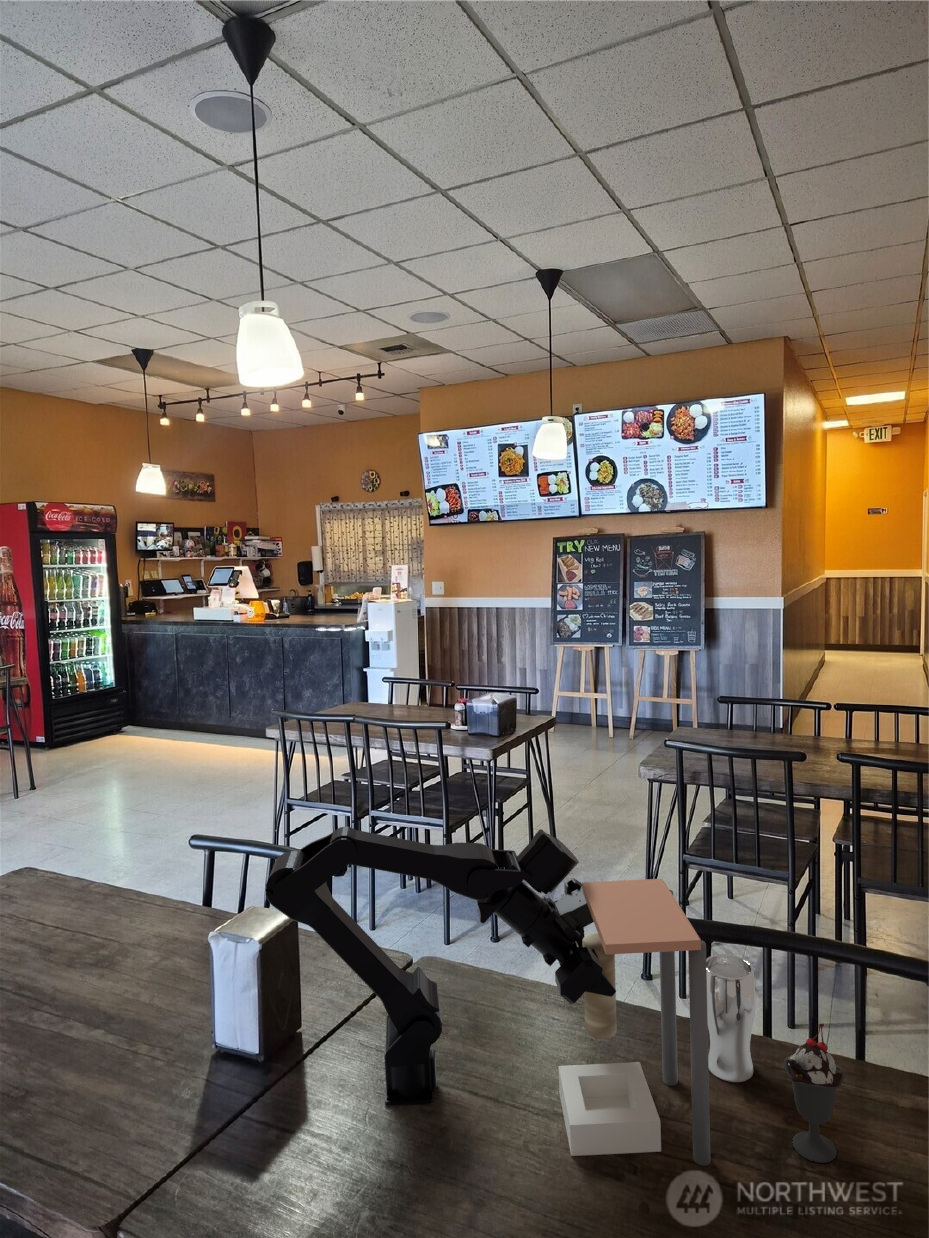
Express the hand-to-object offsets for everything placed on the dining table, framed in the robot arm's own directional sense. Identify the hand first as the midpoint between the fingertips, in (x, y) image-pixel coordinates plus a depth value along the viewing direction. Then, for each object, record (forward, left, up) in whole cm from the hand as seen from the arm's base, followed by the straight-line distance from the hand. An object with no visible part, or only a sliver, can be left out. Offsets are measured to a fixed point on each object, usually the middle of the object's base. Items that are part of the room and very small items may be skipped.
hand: (609, 984), depth 110 cm
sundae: (+21, -16, -13) cm, 30 cm away
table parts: (0, -10, -12) cm, 16 cm away
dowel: (-1, 0, -7) cm, 7 cm away
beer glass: (+16, -1, -13) cm, 21 cm away
